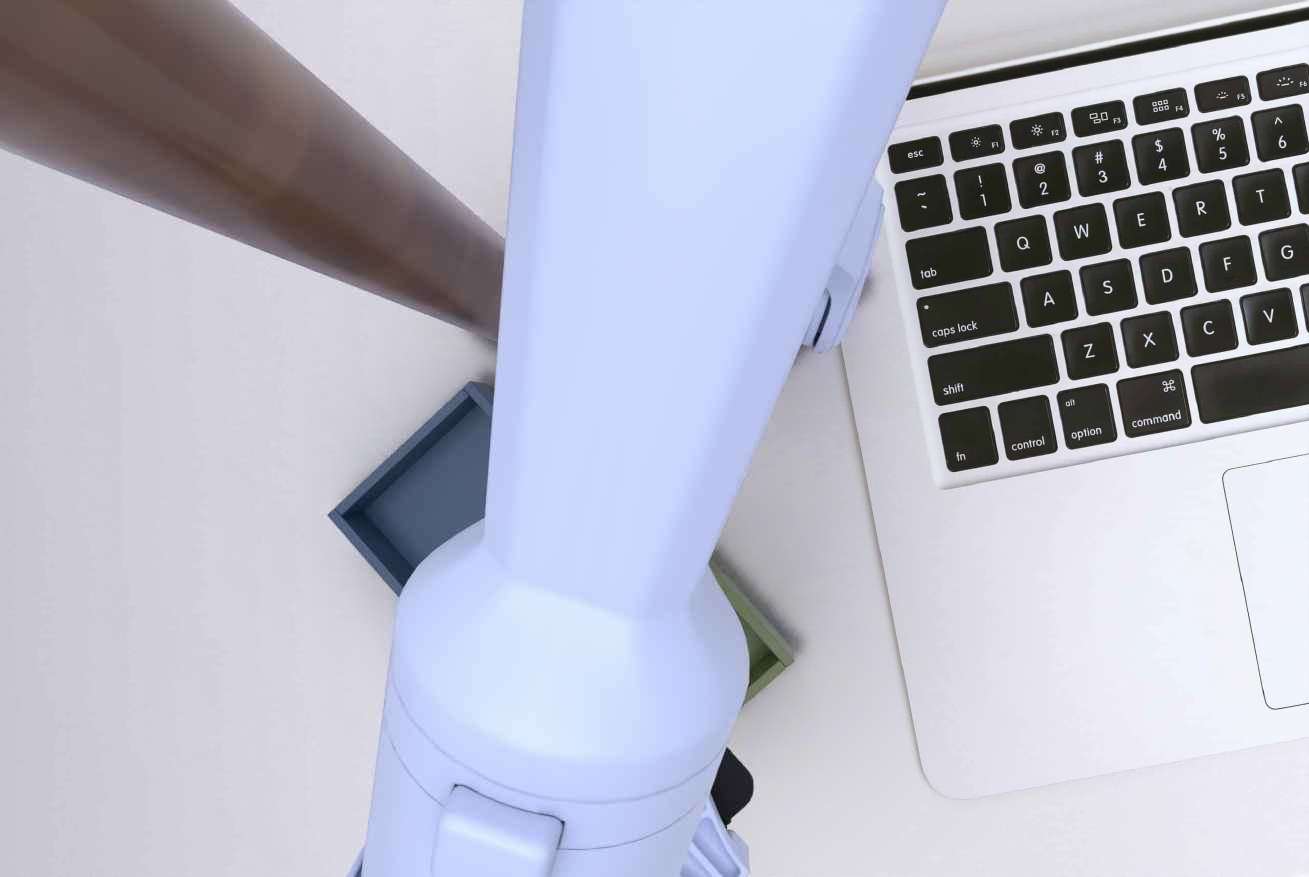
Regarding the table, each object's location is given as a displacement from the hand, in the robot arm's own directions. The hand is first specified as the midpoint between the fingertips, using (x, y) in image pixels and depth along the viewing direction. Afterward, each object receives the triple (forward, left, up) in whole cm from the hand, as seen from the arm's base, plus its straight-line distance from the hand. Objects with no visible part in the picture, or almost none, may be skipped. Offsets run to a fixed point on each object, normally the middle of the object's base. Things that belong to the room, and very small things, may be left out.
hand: (625, 667), depth 40 cm
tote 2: (0, +1, -10) cm, 10 cm away
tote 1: (+3, -11, -10) cm, 15 cm away
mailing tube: (-7, -19, -10) cm, 23 cm away
